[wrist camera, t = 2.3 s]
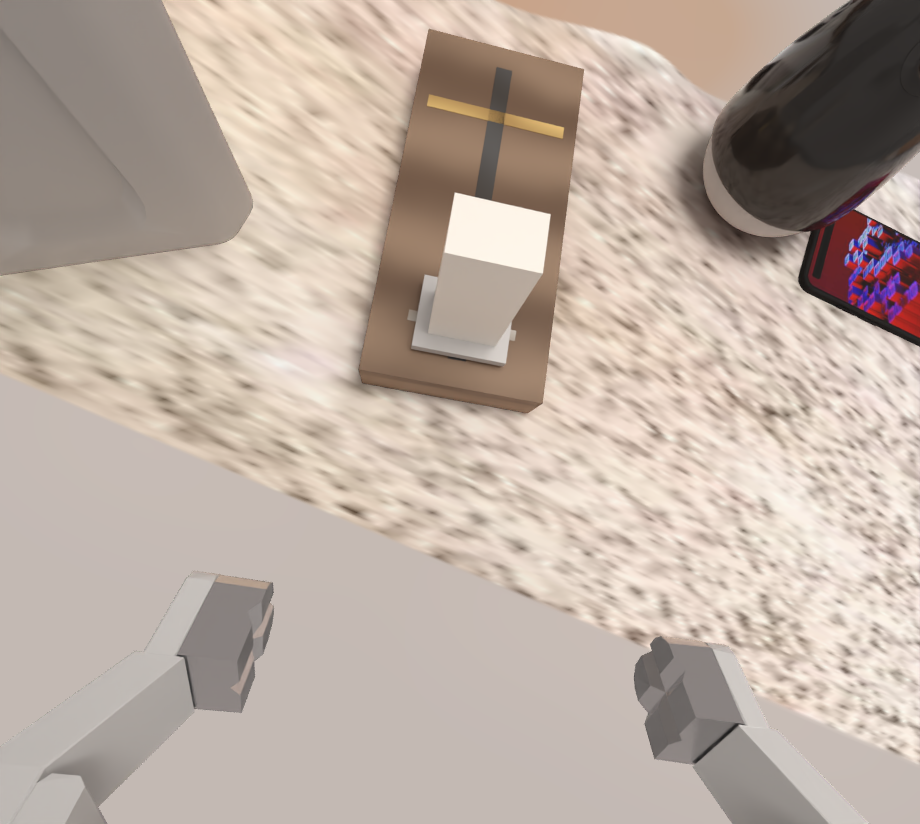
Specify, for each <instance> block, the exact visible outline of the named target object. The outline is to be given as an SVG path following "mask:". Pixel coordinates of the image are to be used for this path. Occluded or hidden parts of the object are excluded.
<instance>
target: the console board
mask: <svg viewBox="0 0 920 824" xmlns="http://www.w3.org/2000/svg"><path fill="white" fill-rule="evenodd" d="M583 74H584V69H581V68H577V67H573V66H569V65H566V64H562V63H558V62H554V61H550V60H546V59H543V58H539V57H535V56H531V55H527V54H523V53H520V52H516V51H512V50H508V49H504V48H500V47H497V46H493V45H489V44H485V43H481V42H477V41H474V40H470V39H466V38H462V37H458V36H454V35H451V34H447V33H443V32H439V31H435V30H431V29H429V30H428V35H427V40H426V45H425V50H424V54H423V59H422V64H421V69H420V74H419V79H418V84H417V88H416V93H415V98H414V103H413V108H412V113H411V118H410V122H409V127H408V132H407V137H406V142H405V147H404V152H403V156H402V161H401V166H400V171H399V176H398V181H397V186H396V190H395V195H394V200H393V205H392V210H391V215H390V219H389V224H388V229H387V234H386V239H385V244H384V249H383V253H382V258H381V263H380V268H379V273H378V278H377V283H376V287H375V292H374V297H373V302H372V307H371V312H370V317H369V321H368V326H367V331H366V336H365V341H364V346H363V351H362V355H361V360H360V365H359V373H360V376H361V380H362V383H365V384H371V385H376V386H382V387H387V388H392V389H398V390H403V391H409V392H414V393H420V394H425V395H431V396H436V397H442V398H447V399H453V400H458V401H463V402H469V403H474V404H480V405H485V406H491V407H496V408H502V409H507V410H513V411H518V412H524V413H529V412H530V411H532V410H533V409H535V408H536V407H538V406H539V405H541V404H542V403H543V396H544V388H545V380H546V372H547V363H548V355H549V347H550V339H551V331H552V323H553V315H554V307H555V299H556V291H557V283H558V275H559V267H560V259H561V251H562V243H563V235H564V227H565V219H566V211H567V202H568V194H569V186H570V178H571V170H572V162H573V154H574V146H575V138H576V130H577V122H578V114H579V106H580V98H581V90H582V82H583ZM455 193H459V194H464V195H468V196H472V197H477V198H481V199H486V200H490V201H494V202H499V203H503V204H508V205H512V206H516V207H521V208H525V209H530V210H534V211H538V212H543V213H547V214H551V216H550V223H549V231H548V239H547V246H546V254H545V261H544V269H543V274H542V276H541V277H540V279H539V280H538V282H537V283H536V285H535V286H534V288H533V289H532V291H531V293H530V294H529V296H528V297H527V299H526V300H525V302H524V303H523V305H522V306H521V308H520V309H519V311H518V312H517V314H516V315H515V317H514V318H513V320H512V324H511V331H510V338H509V345H508V352H507V359H506V364H505V365H504V366H503V367H502V366H497V365H492V364H487V363H482V362H476V361H471V360H466V359H461V358H456V357H450V356H445V355H440V354H435V353H430V352H424V351H419V350H414V349H411V346H412V341H413V335H414V330H415V324H416V319H417V314H418V308H419V303H420V297H421V292H422V287H423V281H424V276H425V275H429V276H434V277H438V275H439V270H440V265H441V260H442V255H443V250H444V245H445V240H446V235H447V230H448V225H449V220H450V215H451V210H452V205H453V200H454V195H455Z"/></svg>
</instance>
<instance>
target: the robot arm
mask: <svg viewBox="0 0 920 824" xmlns="http://www.w3.org/2000/svg"><path fill="white" fill-rule="evenodd" d="M273 593H274V592H273V583H271V582H265V581H258V580H252V579H244V578H238V577H231V576H224V575H220V574H213V573H206V572H198V571H193V572H192V573H191V574H190V575H189V576H188V577H187V578H186V579H185V581H184V583H183V584H182V586H181V588H180V589H179V591H178V593H177V595H176V596H175V598H174V600H173V602H172V604H171V605H170V607H169V609H168V610H167V612H166V614H165V615H164V618H163V619H162V621H161V622H160V624H159V626H158V627H157V629H156V631H155V633H154V634H153V636H152V638H151V640H150V641H149V643H148V645H147V646H146V648H145V650H144V652H141V651H134V652H133V653H131V654H130V655H129V656H127V657H126V658H124V659H123V660H122V661H120V662H119V663H117V664H116V665H114V666H113V667H112V668H110V669H109V670H108V671H106V672H105V673H104V674H102V675H101V676H99V677H98V678H96V679H95V680H93V681H92V682H91V683H89V684H88V685H86V686H85V687H84V688H82V689H81V690H79V691H78V692H77V693H75V694H74V695H72V696H71V697H69V698H68V699H67V700H65V701H64V702H62V703H61V704H59V705H58V706H57V707H55V708H54V709H52V710H51V711H50V712H48V713H47V714H45V715H44V716H43V717H41V718H40V719H38V720H37V721H35V722H34V723H33V724H31V725H30V726H28V727H27V728H26V729H24V730H23V731H21V732H20V733H19V734H17V735H16V736H14V737H13V738H12V739H10V740H9V741H7V742H6V743H5V744H3V745H2V746H0V824H107V822H106V820H105V819H104V817H103V815H102V813H101V812H100V810H99V808H98V807H99V806H100V804H102V803H103V802H104V801H105V800H106V799H107V798H108V797H109V796H110V795H111V794H112V793H113V792H114V791H115V790H116V789H117V788H118V787H119V786H120V785H121V784H122V783H123V782H124V781H125V780H126V779H127V778H128V777H129V776H130V775H131V774H132V773H133V772H134V771H135V770H136V769H137V768H138V767H139V766H140V765H141V764H142V763H143V762H144V761H145V760H146V759H147V758H148V757H149V756H150V755H151V754H152V753H153V752H154V751H155V750H156V749H158V748H159V746H161V745H162V744H163V743H164V741H166V740H167V739H168V738H169V737H170V736H171V735H172V734H173V733H174V732H175V731H176V730H177V729H178V727H180V726H181V725H182V724H183V723H184V722H185V721H186V720H187V719H188V718H189V717H190V716H191V715H192V714H193V713H194V709H203V710H215V711H227V712H239V713H241V712H242V710H243V707H244V705H245V702H246V699H247V697H248V694H249V691H250V689H251V686H252V683H253V680H254V678H255V670H254V661H255V660H257V659H258V658H259V657H260V656H261V655H263V653H264V650H265V647H266V644H267V641H268V638H269V634H270V630H271V627H272V621H273V614H274V606H273V605H272V604H271V603H270V601H271V598H272V596H273ZM650 646H651V649H652V651H651V652H649V653H647V654H644V655H642V656H641V657H640V659H639V660H638V662H637V663H636V666H635V673H634V684H635V690H636V694H637V698H638V701H639V702H640V704H641V705H642V706H643V707H644V708H645V710H646V711H647V712H648V715H647V718H646V721H645V727H646V731H647V734H648V738H649V741H650V745H651V748H652V752H653V755H654V759H658V760H665V761H672V762H679V763H686V764H693V765H694V766H693V768H694V769H695V771H696V772H697V774H698V775H699V777H700V778H701V780H702V781H703V782H704V784H705V785H706V787H707V788H708V789H709V791H710V792H711V794H712V795H713V796H714V798H715V799H716V801H717V802H718V804H719V805H720V806H721V808H722V809H723V811H724V812H725V814H726V815H727V817H728V818H729V819H730V821H731V822H732V824H869V823H868V822H867V821H866V820H865V819H864V817H863V816H862V815H861V814H860V813H859V812H857V811H856V809H855V808H854V807H853V806H852V805H851V804H850V803H849V802H848V801H847V800H846V799H845V798H844V797H843V796H842V795H841V794H840V793H839V792H838V791H837V790H836V789H835V788H834V787H833V786H832V785H831V784H830V783H829V782H828V781H827V780H826V779H825V778H824V777H823V776H822V775H821V774H820V773H819V772H818V771H817V770H816V769H815V768H814V767H813V766H812V765H811V764H810V763H809V762H808V761H807V760H806V758H805V757H804V756H803V755H802V754H801V753H800V752H799V751H798V750H797V749H796V748H795V747H794V746H793V745H792V744H791V743H790V742H789V741H788V740H787V739H786V738H785V737H784V736H783V735H782V734H781V733H780V732H779V731H778V730H777V729H772V728H770V727H769V725H768V723H767V721H766V719H765V716H764V714H763V712H762V710H761V708H760V706H759V704H758V702H757V700H756V697H755V695H754V693H753V691H752V689H751V687H750V685H749V683H748V681H747V679H746V676H745V674H744V672H743V670H742V668H741V666H740V664H739V662H738V660H737V658H736V655H735V654H734V652H733V651H732V650H731V649H730V647H729V646H726V645H723V644H716V643H708V642H702V641H697V640H689V639H680V638H672V637H663V636H660V637H657V638H655V639H654V640H653V641H652V643H651V644H650Z"/></svg>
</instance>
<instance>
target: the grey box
mask: <svg viewBox="0 0 920 824" xmlns="http://www.w3.org/2000/svg"><path fill="white" fill-rule="evenodd" d="M252 207H253V199H252V196H251V193H250V191H249V189H248V187H247V185H246V182H245V180H244V178H243V176H242V174H241V172H240V169H239V167H238V165H237V163H236V161H235V159H234V156H233V154H232V152H231V150H230V148H229V146H228V143H227V141H226V139H225V137H224V135H223V133H222V130H221V128H220V126H219V124H218V122H217V120H216V117H215V115H214V113H213V111H212V109H211V107H210V104H209V102H208V100H207V98H206V96H205V93H204V91H203V89H202V87H201V85H200V83H199V80H198V78H197V76H196V74H195V72H194V70H193V67H192V65H191V63H190V61H189V59H188V57H187V54H186V52H185V50H184V48H183V46H182V44H181V41H180V39H179V37H178V35H177V33H176V31H175V28H174V26H173V24H172V22H171V20H170V18H169V15H168V13H167V11H166V9H165V7H164V5H163V2H162V0H0V275H6V274H13V273H20V272H27V271H34V270H41V269H47V268H54V267H61V266H68V265H75V264H82V263H89V262H96V261H103V260H110V259H117V258H124V257H131V256H138V255H145V254H152V253H159V252H166V251H173V250H179V249H186V248H193V247H200V246H207V245H214V244H220V243H224V242H227V241H229V240H230V239H232V238H233V237H234V236H235V235H236V234H237V233H238V231H239V230H240V228H241V227H242V225H243V224H244V222H245V220H246V219H247V217H248V216H249V214H250V212H251V210H252Z"/></svg>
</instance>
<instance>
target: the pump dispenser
mask: <svg viewBox="0 0 920 824" xmlns="http://www.w3.org/2000/svg"><path fill="white" fill-rule="evenodd" d="M919 152H920V0H850V1H848V2H847V3H845V4H844V5H842V6H841V7H839V8H838V9H837V10H835V11H834V12H832V13H831V14H830V15H828V16H827V17H826V18H824V19H823V20H821V21H820V22H819V23H817V24H816V25H815V26H813V27H812V28H811V29H809V30H808V31H807V32H805V33H804V34H803V35H801V36H800V37H799V38H798V39H797V40H795V41H794V42H793V43H791V44H790V45H789V46H788V47H786V48H785V49H784V50H783V51H782V52H781V53H779V54H778V55H777V56H776V57H775V58H773V59H772V60H771V61H770V62H769V63H768V64H767V65H766V66H764V67H763V68H762V69H761V70H760V71H759V72H758V73H757V74H756V75H755V76H754V77H753V78H751V79H750V80H749V81H748V82H747V83H746V84H745V85H744V86H743V87H742V88H741V89H740V90H739V91H738V92H737V93H736V94H735V95H734V96H733V97H732V99H731V100H730V101H729V102H728V103H727V104H726V106H725V107H724V108H723V109H722V111H721V112H720V114H719V116H718V118H717V120H716V122H715V125H714V128H713V132H712V136H711V138H710V141H709V143H708V146H707V149H706V153H705V157H704V164H703V179H704V186H705V189H706V193H707V195H708V198H709V200H710V202H711V204H712V205H713V207H714V208H715V210H716V211H717V212H718V214H719V215H720V216H721V217H722V218H723V219H724V220H725V221H727V222H728V223H729V224H731V225H732V226H734V227H735V228H737V229H739V230H741V231H744V232H746V233H749V234H752V235H757V236H763V237H782V236H789V235H794V234H798V233H801V232H808V231H814V230H818V229H822V228H824V227H827V226H829V225H831V224H833V223H835V222H836V221H838V220H839V219H841V218H843V217H844V216H846V215H847V214H848V213H850V212H851V211H853V210H854V209H855V208H857V207H858V206H859V205H860V204H862V203H863V202H864V201H865V200H867V199H868V198H869V197H870V196H871V195H873V194H874V193H875V192H876V191H877V190H879V189H880V188H881V187H882V186H883V185H884V184H886V183H887V182H888V181H889V180H890V179H891V178H892V177H894V176H895V175H896V174H897V173H898V172H899V171H900V170H901V169H902V168H903V167H904V166H905V165H907V164H908V162H910V161H911V160H912V159H913V158H914V157H915V156H916V155H917V154H918V153H919Z"/></svg>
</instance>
